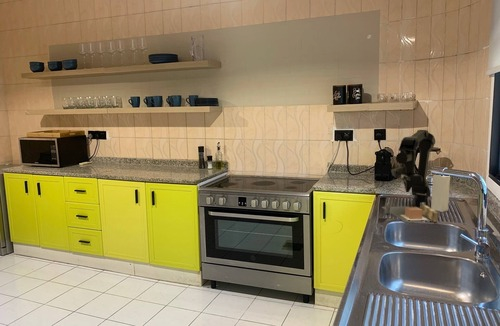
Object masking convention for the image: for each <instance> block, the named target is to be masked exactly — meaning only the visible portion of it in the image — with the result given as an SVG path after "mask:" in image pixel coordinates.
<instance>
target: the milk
mask: <svg viewBox="0 0 500 326" xmlns="http://www.w3.org/2000/svg"><path fill="white" fill-rule="evenodd" d="M450 183H451V176H450V175H449V176H441V175H435V174H433V175H432V189H431V206H430V208H431V209H433V210H435V211H436V212H441V213H442V212H448V211H449V200H450V199H449V198H450Z"/></svg>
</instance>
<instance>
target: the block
mask: <svg viewBox="0 0 500 326" xmlns="http://www.w3.org/2000/svg"><path fill="white" fill-rule="evenodd" d="M404 207H405V216H406V217H408V218H409V219H422V212H423V210H422V209H420V207H416V206H404Z"/></svg>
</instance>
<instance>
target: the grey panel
mask: <svg viewBox="0 0 500 326" xmlns="http://www.w3.org/2000/svg"><path fill="white" fill-rule="evenodd" d="M405 207H406V206H390V213H389V214H391V215H393V216H395V217H396V218H397V219H399V220H400V219H401V220H400V221H402V222H403V223H405V224H406V223H409V224H410V223H421V222H420V220H426V221H431V222H430V223H435V222H434V221H432V220H431V219H429V218H428V217H426V216H425V215H423V214H422V219H409V218H408V217H406V216H405ZM381 208H382V210H383V209H384V211H386V206H381ZM408 220H410V221H408Z"/></svg>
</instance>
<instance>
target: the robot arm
mask: <svg viewBox="0 0 500 326" xmlns="http://www.w3.org/2000/svg"><path fill="white" fill-rule="evenodd" d="M435 144H436V138H435V136H434V134H432V133H430V132H429V131H428V130H427V129H417V131H416V132H415V133H414V134H413V135H411V136H404V137H403V138H402V139H401V141H400V144H399V148H398V151H399V152H398V153H397V155H396V156H395V160H396V162H397V163H398V164H400V166H398V167H395V168H392V169H391V170H390V171H391V175H392V177H395V178H396V177H399V176H400V177H399V179H401V181H402V182H403V185H404V190H405V192H406V193H410V191H411V196H414V197H413V200H412V201H413V202H412V206H413V207H418V208H420V202H425V205H427V206H428V207H430V206H429V205H428V203H429V202H428V199H429V198H430V197H431V196H432V190H431V189H430V186H429V181H428V179H427V175H428V168H429V159H430V153H431V151H433V149H434V147H435ZM418 149H419V153H420V154H419V161H418V167H417V164H416V153H417V150H418ZM416 167H417V171H416V170H415V169H416Z"/></svg>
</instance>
